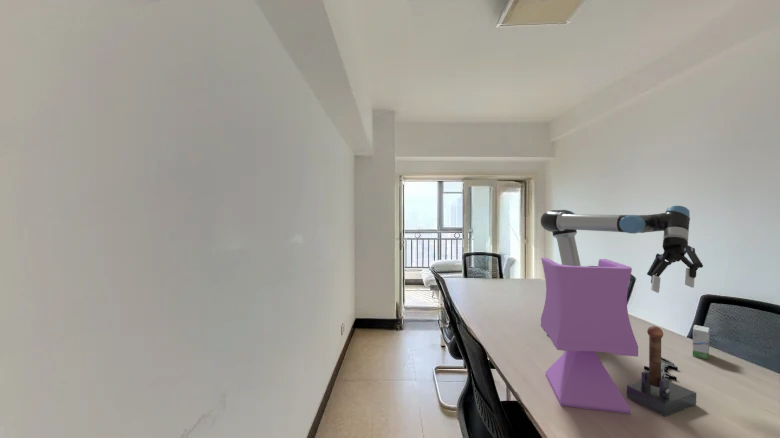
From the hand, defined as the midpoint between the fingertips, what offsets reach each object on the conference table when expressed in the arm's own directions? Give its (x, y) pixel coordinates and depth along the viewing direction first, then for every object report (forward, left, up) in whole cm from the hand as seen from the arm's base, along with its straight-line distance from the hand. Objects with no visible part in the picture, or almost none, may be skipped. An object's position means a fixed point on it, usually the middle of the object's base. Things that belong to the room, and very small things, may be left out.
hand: (671, 288), depth 121 cm
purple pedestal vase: (-24, -34, -33) cm, 53 cm away
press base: (-3, -24, -33) cm, 41 cm away
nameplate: (-3, +1, -34) cm, 34 cm away
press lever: (-5, -27, -28) cm, 39 cm away
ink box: (+11, +31, -33) cm, 47 cm away
